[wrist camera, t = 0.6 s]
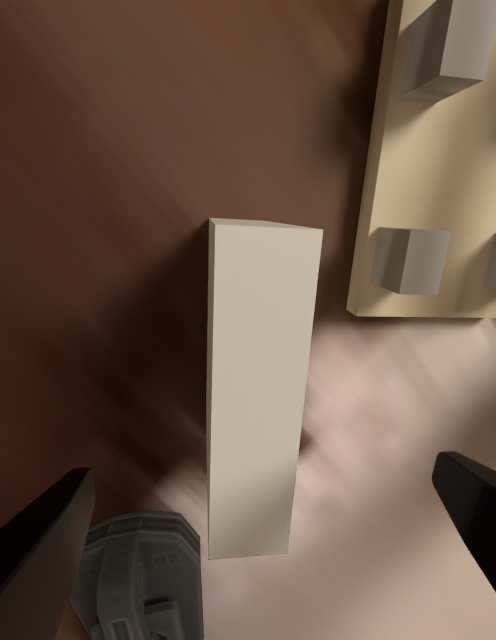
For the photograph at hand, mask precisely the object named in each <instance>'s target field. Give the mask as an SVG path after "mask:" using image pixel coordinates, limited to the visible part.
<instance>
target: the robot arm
mask: <svg viewBox="0 0 496 640" xmlns="http://www.w3.org/2000/svg"><path fill="white" fill-rule="evenodd" d="M432 482H433V485H434V488H435V489H436V491H437V493H438V495H439V497H440V499H441V501H442V503H443V504H444V506H445V508H446V510H447V512H448V514H449V516H450V518H451V519H452V521H453V523H454V525H455V527H456V529H457V531H458V533H459V534H460V536H461V538H462V540H463V541H464V543H465V545H466V546H467V548H468V550H469V551H470V553H471V555H472V556H473V558H474V559H475V561H476V562H477V564H478V565H479V567H480V569H481V570H482V572H483V573H484V575H485V576H486V578H487V579H488V581H489V583H490V584H491V586H492V587H493V589H494V590H495V592H496V471H494V470H492V469H490V468H488V467H486V466H484V465H482V464H480V463H478V462H476V461H474V460H472V459H470V458H468V457H466V456H464V455H461V454H459V453H457V452H454V451H444V452H440V453H439V454H438V455H437V457H436V461H435V465H434V469H433V473H432ZM94 505H95V486H94V477H93V471H92V469H91V468H75V469H72V470H71V471H69V472H68V473H67V474H66V475H65V476H63V477H62V478H61V479H60V480H59V481H57V482H56V483H55V484H54V485H52V486H51V487H50V488H49V489H48V490H46V491H45V492H44V493H43V494H42V495H40V496H39V497H38V498H37V499H35V500H34V501H33V502H32V503H31V504H29V505H28V506H27V507H26V508H25V509H23V510H22V511H21V512H20V513H18V514H17V515H16V516H15V517H14V518H12V519H11V520H10V521H9V522H7V523H6V524H5V525H4V526H3V527H1V528H0V640H54V639H55V636H56V634H57V631H58V628H59V625H60V622H61V620H62V617H63V614H64V611H65V608H66V606H67V603H68V600H69V597H70V594H71V592H72V589H73V586H74V583H75V580H76V577H77V573H78V569H79V566H80V562H81V558H82V554H83V550H84V546H85V542H86V538H87V534H88V530H89V526H90V522H91V518H92V514H93V510H94Z"/></svg>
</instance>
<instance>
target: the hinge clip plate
mask: <svg viewBox="0 0 496 640" xmlns="http://www.w3.org/2000/svg"><path fill="white" fill-rule="evenodd" d="M346 310H348V311H349V312H351V313H352V314H354V315H355V316H374V317H457V318H496V0H389V5H388V13H387V20H386V27H385V34H384V41H383V48H382V56H381V63H380V70H379V77H378V84H377V92H376V99H375V106H374V113H373V120H372V127H371V135H370V142H369V149H368V156H367V163H366V171H365V178H364V185H363V192H362V199H361V206H360V214H359V221H358V228H357V235H356V242H355V250H354V257H353V264H352V271H351V278H350V285H349V293H348V300H347V307H346Z"/></svg>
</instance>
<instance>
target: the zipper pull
mask: <svg viewBox="0 0 496 640" xmlns="http://www.w3.org/2000/svg"><path fill="white" fill-rule="evenodd" d="M69 602H70V604H71V605H72V607H73V609H74V610H75V612H76V614H77V615H78V617H79V619H80V620H81V622H82V624H83V626H84V628H85V629H86V631H87V633H88V635H89V636H90V638H91V640H204V630H203V607H202V585H201V560H200V536H199V535H198V534H197V533H196V531H195V530H194V529H193V528H192V527H191V525H190V524H189V523H188V522H187V521H186V520H185V518H184V517H183V516H182V515H181V514H180V513H172V512H159V511H145V510H143V511H138V512H132V513H126V514H121V515H115V516H112V517H110V518H108V519H106V520H103V521H101V522H99V523H97V524H95V525H93V526H91V527H89V530H88V534H87V538H86V542H85V546H84V550H83V554H82V558H81V562H80V566H79V569H78V573H77V577H76V580H75V583H74V586H73V589H72V592H71V594H70V597H69Z"/></svg>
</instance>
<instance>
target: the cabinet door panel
mask: <svg viewBox="0 0 496 640" xmlns="http://www.w3.org/2000/svg"><path fill="white" fill-rule="evenodd" d="M322 236H323V230H322V229H315V228H309V227H302V226H295V225H288V224H282V223H275V222H268V221H257V220H237V219H217V218H209V257H208V323H207V388H206V435H207V500H208V560H211V559H223V558H235V557H247V556H259V555H271V554H284V553H287V551H288V542H289V533H290V524H291V515H292V506H293V497H294V488H295V479H296V470H297V461H298V452H299V443H300V434H301V425H302V416H303V407H304V398H305V389H306V380H307V371H308V362H309V353H310V344H311V335H312V326H313V317H314V308H315V299H316V290H317V281H318V272H319V263H320V254H321V245H322Z"/></svg>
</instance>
